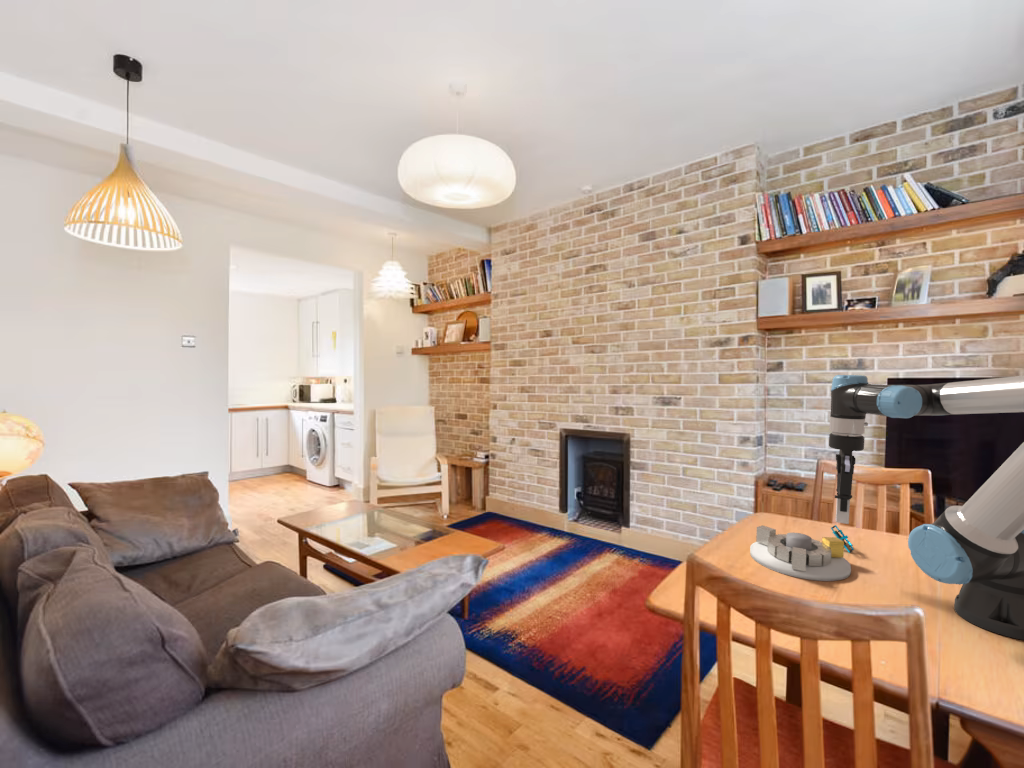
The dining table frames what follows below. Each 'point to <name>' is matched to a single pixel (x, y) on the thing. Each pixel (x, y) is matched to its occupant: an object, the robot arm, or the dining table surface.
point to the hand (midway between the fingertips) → (842, 522)
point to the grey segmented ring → (800, 549)
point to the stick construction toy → (842, 538)
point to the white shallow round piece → (830, 572)
